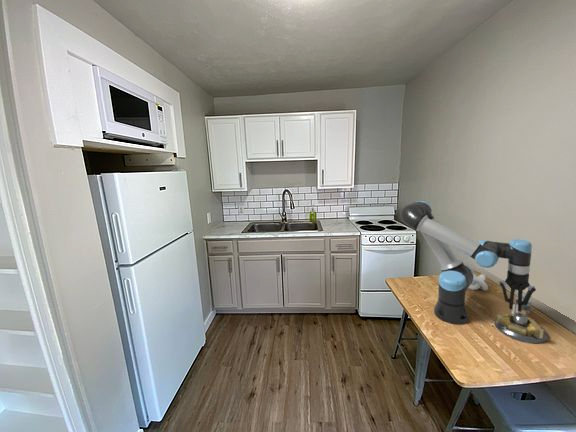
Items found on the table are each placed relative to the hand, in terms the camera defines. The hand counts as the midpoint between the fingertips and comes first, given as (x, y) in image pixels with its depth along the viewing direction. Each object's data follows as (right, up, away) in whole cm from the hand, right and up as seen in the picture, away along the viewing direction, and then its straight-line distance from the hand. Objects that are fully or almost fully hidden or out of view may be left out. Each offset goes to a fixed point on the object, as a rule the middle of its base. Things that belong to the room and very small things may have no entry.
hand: (514, 315), depth 120 cm
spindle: (-3, -5, -6) cm, 8 cm away
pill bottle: (+11, -1, +7) cm, 13 cm away
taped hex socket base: (-2, -3, -5) cm, 6 cm away
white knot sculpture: (+5, +4, +32) cm, 33 cm away
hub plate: (-3, -5, -6) cm, 8 cm away
